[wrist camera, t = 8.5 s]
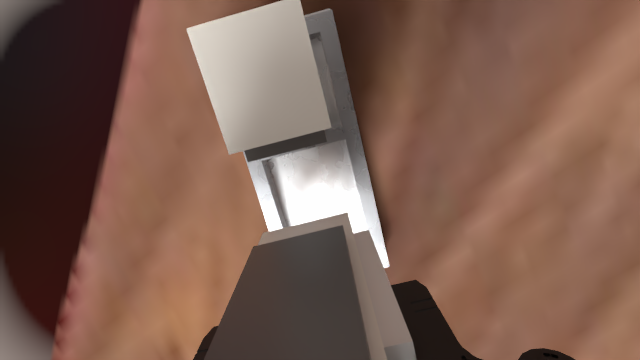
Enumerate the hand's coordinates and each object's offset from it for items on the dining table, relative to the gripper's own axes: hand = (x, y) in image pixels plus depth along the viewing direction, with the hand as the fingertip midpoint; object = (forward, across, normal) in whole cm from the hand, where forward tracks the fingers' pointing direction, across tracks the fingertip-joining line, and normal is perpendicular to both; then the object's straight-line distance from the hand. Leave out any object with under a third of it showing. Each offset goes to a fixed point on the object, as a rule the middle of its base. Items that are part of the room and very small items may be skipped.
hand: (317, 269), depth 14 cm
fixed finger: (+9, 0, +9) cm, 12 cm away
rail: (+9, 0, +4) cm, 10 cm away
